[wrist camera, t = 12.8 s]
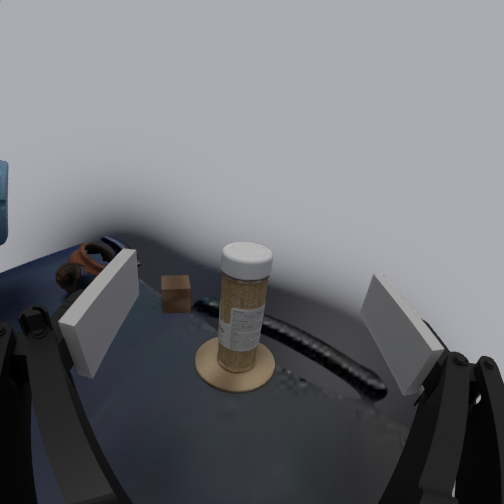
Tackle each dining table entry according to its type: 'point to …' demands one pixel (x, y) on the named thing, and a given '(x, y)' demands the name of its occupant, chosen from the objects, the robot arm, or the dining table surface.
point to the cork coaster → (233, 380)
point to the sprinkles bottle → (242, 303)
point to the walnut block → (176, 294)
